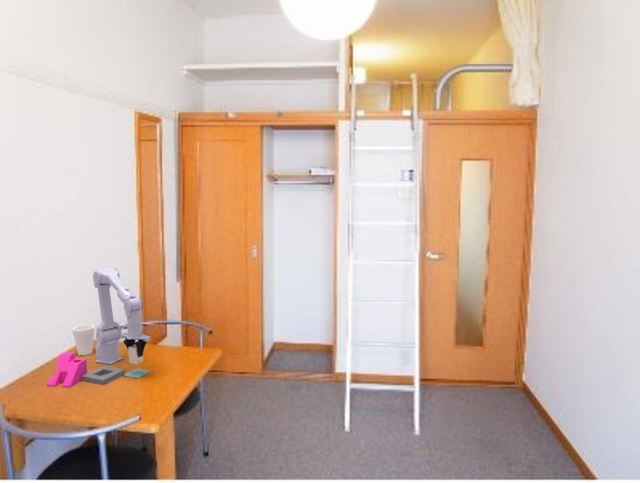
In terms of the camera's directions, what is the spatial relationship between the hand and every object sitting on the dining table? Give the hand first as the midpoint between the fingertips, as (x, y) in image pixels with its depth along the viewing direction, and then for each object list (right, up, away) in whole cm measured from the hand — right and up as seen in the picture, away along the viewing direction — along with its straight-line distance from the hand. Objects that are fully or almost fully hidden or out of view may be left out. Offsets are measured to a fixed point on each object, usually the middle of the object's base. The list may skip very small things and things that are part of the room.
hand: (136, 355), depth 209 cm
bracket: (-27, -10, -6) cm, 29 cm away
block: (0, -3, 0) cm, 3 cm away
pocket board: (-13, -9, -2) cm, 16 cm away
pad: (0, -8, +1) cm, 8 cm away
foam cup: (-35, -5, +26) cm, 44 cm away
